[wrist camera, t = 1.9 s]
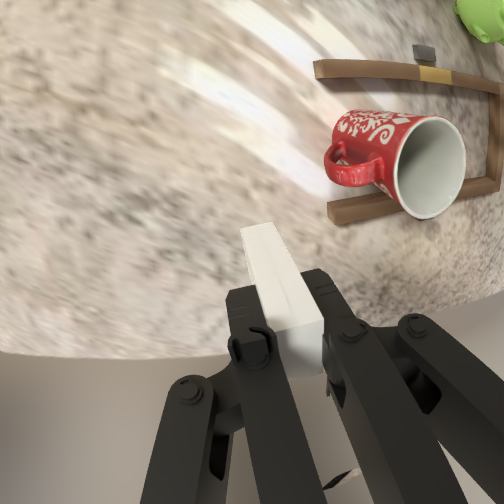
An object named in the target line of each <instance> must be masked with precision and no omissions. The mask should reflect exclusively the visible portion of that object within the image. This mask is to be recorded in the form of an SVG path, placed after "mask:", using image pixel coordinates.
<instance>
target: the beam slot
mask: <svg viewBox="0 0 504 504" xmlns="http://www.w3.org/2000/svg"><path fill="white" fill-rule="evenodd" d="M413 51H414V59H417V60H423V61H429V62H436V56H435V48H432V47H428V46H423V45H413ZM313 65H314V72H315V78H346V77H360V78H390V79H405V80H416V81H425V82H434V83H441V84H448V85H454V86H460V87H466V88H471V89H476V90H481V91H485V92H489V143H488V157H487V168H486V176H484V177H477V178H470V179H464V180H463V183H462V186H461V189H460V191H459V193H458V195H457V197H456V198H455V200H459V199H464V198H468V197H473V196H478V195H483V194H488V193H493V192H498V191H499V190H500V184H501V176H502V168H503V159H504V84H501V83H498V82H494V81H491V80H487V79H484V78H480V77H476V76H472V75H468V74H464V73H459V72H455V71H450V70H445V69H439V68H434V67H428V66H421V65H414V64H406V63H397V62H386V61H372V60H347V59H322V60H318V61H313ZM327 210H328V218H329V219H330V220H331V221H332V222H333V223H334V224H335V225H341V224H345V223H350V222H354V221H359V220H364V219H368V218H373V217H378V216H382V215H387V214H392V213H397V212H401V211H405V210H404V209H403V208H402V206H401V205H400V204H399V203H398V202H396V201H395V200H394V199H392V198H391V197H390V196H389V195H387V194H386V193H385V192H381V193H375V194H369V195H364V196H358V197H353V198H347V199H342V200H337V201H331V202H327ZM433 218H434V217H433ZM416 219H417V220H419V221H423V220H427V219H419V218H416ZM429 219H431V218H429Z"/></svg>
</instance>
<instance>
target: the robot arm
mask: <svg viewBox="0 0 504 504" xmlns="http://www.w3.org/2000/svg"><path fill="white" fill-rule="evenodd" d="M240 231H241V236H242V241H243V246H244V251H245V256H246V261H247V266H248V271H249V276H250V280H251V283H252V285H250V286H246V287H242V288H237V289H233V290H229V293H228V295H227V298H226V307H227V313H228V319H229V326H230V332H231V336H230V338H229V339H228V346H227V347H228V350H229V353H230V356H231V358H232V360H231V362H230V363H229V365H228V366H227V367H226V368H225V369H223V370H222V371H220V372H219V373H217V374H215V375H213V376H211V377H209V378H207V379H206V378H205V377H203V376H199V375H188V376H185V377H183V378H180V379H178V380H177V381H176V382H175V383H174V384H173V385H172V386H171V388H170V390H169V392H168V396H167V399H166V403H165V406H164V410H163V414H162V417H161V421H160V425H159V428H158V432H157V436H156V440H155V444H154V447H153V451H152V455H151V459H150V463H149V467H148V471H147V475H146V479H145V484H144V488H143V492H142V497H141V501H140V504H225V503H226V494H227V485H228V478H229V469H230V461H231V452H232V444H233V436H234V432H235V431H237V430H239V429H241V428H243V427H245V430H246V436H247V441H248V446H249V451H250V456H251V461H252V466H253V471H254V475H255V480H256V485H257V489H258V494H259V499H260V503H261V504H327V501H326V498H325V495H324V492H323V489H322V486H321V482H320V480H319V476H318V473H317V470H316V467H315V464H314V461H313V458H312V454H311V451H310V448H309V445H308V442H307V439H306V436H305V433H304V430H303V426H302V424H301V420H300V417H299V414H298V411H297V408H296V405H295V402H294V398H293V395H292V392H291V389H290V386H289V382H292V381H296V380H300V379H303V378H307V377H310V376H313V375H317V374H321V373H323V366H324V368H325V371H326V373H327V388H326V394H327V396H330V393H331V395H332V397H333V400H334V402H335V405H336V407H337V410H338V412H339V415H340V417H341V420H342V422H343V425H344V427H345V430H346V432H347V435H348V437H349V440H350V442H351V445H352V447H353V450H354V452H355V455H356V457H357V460H358V463H359V465H360V468H361V470H362V473H363V475H364V478H365V481H366V483H367V486H368V489H369V491H370V494H371V496H372V499H373V502H374V504H468V502H467V500H466V498H465V496H464V493H463V491H462V489H461V487H460V485H459V483H458V480H457V478H456V476H455V474H454V472H453V470H452V468H451V466H450V464H449V462H448V460H447V458H446V456H445V454H444V452H443V450H442V448H441V446H440V444H439V442H440V443H441V444H442V446H443V447H444V448H445V449H446V450H447V451H448V452H449V453H450V454H451V455H452V456H453V457H454V459H455V460H456V461H457V462H458V463H459V464H460V465H461V466H462V467H463V468H464V469H465V470H466V472H467V473H468V474H469V475H470V476H471V477H472V478H473V479H474V480H475V481H476V482H477V484H478V485H479V486H480V487H481V488H482V489H483V490H484V491H485V492H486V493H487V494H488V496H490V498H491V499H492V500H493V501H494V502H495V503H496V504H504V381H503V380H502V379H501V378H500V377H498V375H496V374H495V373H494V372H493V371H492V370H491V369H490V368H489V367H487V366H486V365H485V364H484V363H483V362H482V361H480V360H479V359H478V358H477V357H476V356H475V355H474V354H472V353H471V352H470V351H469V350H468V349H467V348H465V347H464V346H463V345H462V344H460V343H459V342H458V341H457V340H456V339H455V338H453V337H452V336H451V335H450V334H449V333H447V332H446V331H445V330H444V329H442V328H441V327H440V326H439V325H438V324H436V323H435V322H434V321H433V320H431V319H430V318H428V317H426V316H425V315H421V314H417V313H416V314H408V315H406V316H404V317H402V318H401V320H400V321H399V322H398V326H395V327H371V326H370V325H369V324H368V323H367V322H365V321H363V320H361V319H358V318H356V317H355V315H354V313H353V312H352V310H351V309H350V307H349V306H348V304H347V302H346V301H345V299H344V298H343V296H342V295H341V293H340V292H339V291H338V288H337V287H336V285H334V282H333V281H332V279H331V278H330V276H329V275H328V274H327V273H325V272H324V271H322V270H321V269H319V268H318V269H314V270H309V271H305V272H301V273H300V272H299V271H298V269H297V267H296V265H295V263H294V261H293V259H292V257H291V256H290V254H289V252H288V250H287V248H286V246H285V245H284V243H283V241H282V239H281V237H280V235H279V234H278V232H277V230H276V228H275V226H274V225H273V223H272V222H268V223H263V224H258V225H254V226H249V227H245V228H240ZM437 440H438V441H439V442H438V441H437Z"/></svg>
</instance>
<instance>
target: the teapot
mask: <svg viewBox="0 0 504 504" xmlns="http://www.w3.org/2000/svg"><path fill="white" fill-rule="evenodd" d="M456 5H457V6H453V11H454V12H455V14H456V15H460V18H461V20H462V22H463V23H464V25H465V26H466V28H467V29H468V31H469V33H470V35H472V36H473V35H474V36H475V37H476V38H477V39H479V40H480V41H482V42H483V43H492V42H496V41H497V42H499V43H500V44H502V45H503V46H504V0H456Z"/></svg>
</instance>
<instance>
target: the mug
mask: <svg viewBox="0 0 504 504" xmlns="http://www.w3.org/2000/svg"><path fill="white" fill-rule="evenodd" d="M338 160H340V161H341V162H342V163H344V164H345V165H340V164H336V162H337V161H338ZM324 166H325V170H326V173H327V176H328V177H329V179H330V180H332V181H333V182H335V183H337V184H339V185H342V186H347V187H359V186H365V185H368V184H371V183H373V184H374V185H375V186H377V187H378V188H379V189H381V190H382V191H383V192H385V193H386V194H387V195H389V196H390V197H391V198H392V199H394V200H395V201H396V202H398V203H399V204H400V205H401V206H402V208H403V209H404V210H405V211H406V212H407V213H408V214H410V215H411V216H413V217H415V218H419V219H429V218H433V217H435V216H437V215H439V214H441V213H442V212H444V211H445V210H446V209H447V208H448V207H449V206H450V205H451V204H452V202H453V201H454V200H455V198H456V197H457V195H458V193H459V191H460V189H461V186H462V183H463V180H464V177H465V172H466V150H465V145H464V142H463V139H462V136H461V134H460V132H459V131H458V129H457V128H456V127H455V126H454V125H453V124H452V123H451V122H450V121H449V120H447V119H446V118H443V117H440V116H434V115H433V116H419V115H412V114H402V113H393V112H382V111H370V110H353V111H350V112H348V113H346V114H344V115H343V116H342V117H341V118H340V119H339V120H338V121H337V123H336V125H335V127H334V130H333V135H332V145H331V146H330V147H329V149H328V150H327V152H326V153H325V156H324Z"/></svg>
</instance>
